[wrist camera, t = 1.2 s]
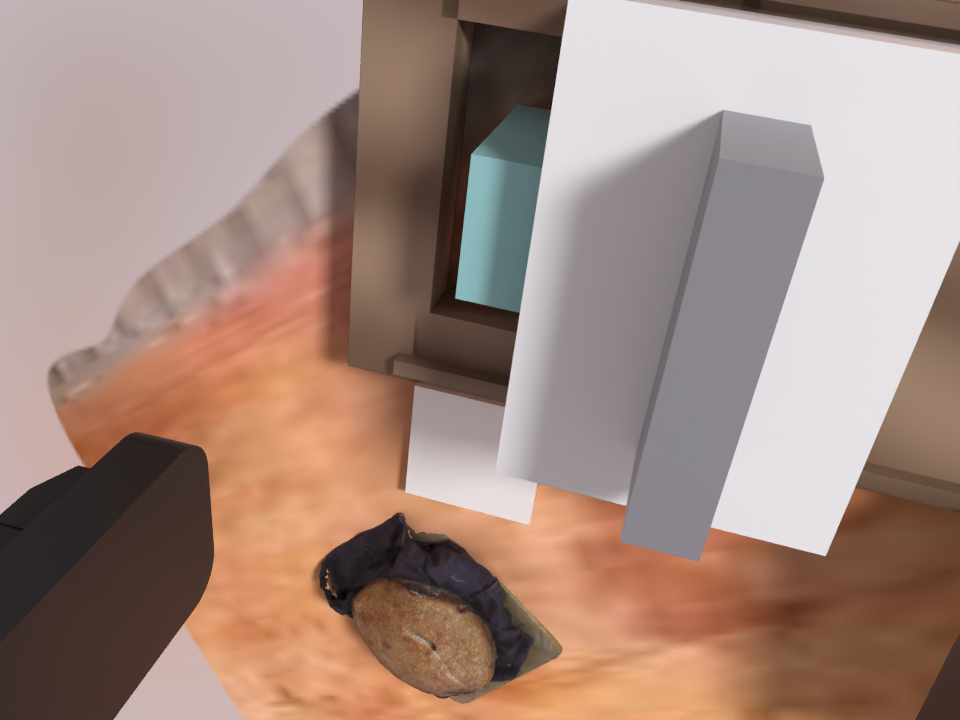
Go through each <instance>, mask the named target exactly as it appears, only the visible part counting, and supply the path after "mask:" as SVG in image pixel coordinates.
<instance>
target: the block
mask: <svg viewBox="0 0 960 720" xmlns="http://www.w3.org/2000/svg"><path fill="white" fill-rule="evenodd" d="M550 115H551V110H547V109H542V108H536V107H531V106H526V105H520V104H518V105H517V106H516V107H515V108H514V109H513V110H512V111H511V112H510V113H509V114H508V115H507V116H506V117H505V119H504V120H503V121H502V122H501V123H500V124H499V125H498V126H497V127H496V128H495V129H494V130H493V131H492V132H491V134H490V135H489V136H488V137H487V138H486V139H485V140H484V141H483V142H482V143H481V144H480V145H479V146H478V147H477V148H476V150H475V151H474V152H473V153H472V154H471V161H470V170H469V179H468V188H467V197H466V206H465V215H464V224H463V233H462V242H461V251H460V260H459V269H458V278H457V287H456V296H455V299H460V300H464V301H469V302H473V303H478V304H482V305H487V306H491V307H496V308H500V309H505V310H509V311H514V312H518V313H520V309H521V302H522V296H523V289H524V283H525V276H526V270H527V263H528V257H529V251H530V244H531V238H532V231H533V225H534V218H535V212H536V205H537V199H538V192H539V186H540V179H541V173H542V166H543V160H544V154H545V147H546V141H547V134H548V128H549V121H550Z"/></svg>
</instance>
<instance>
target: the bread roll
mask: <svg viewBox="0 0 960 720" xmlns="http://www.w3.org/2000/svg"><path fill="white" fill-rule="evenodd" d="M408 530H410V535H411V536H412V538H413V539H411V538H410V537H409V534H408V532H407V531H408ZM414 532H415V531H414V530H412V529H411V528H410V527H409V526H408V525H407V524H406V522H405V518H404V514H403V513H400V514H396V515H394V516H393V517H392V518H390V519H388V520H386V521H385V522H384V523H383V524H381V525H379V526H377V527H375V528H373V529H370V530H368V531H366V532H364V533H363V534H361V535H360V536H358V537H355V538H353V539H351V540H349V541H347V542H345V543H343V544H342V545H340V546H339V547H337V548H335V549H334V550H333V551H332V552H331V553H330V554H329V555H328V556H327V557H326V559H325V560H324V561H323V563H322V565H321V571H320V575H319V577H320V587H321V588H322V589H323V590H324V592H325V595H326V598H327V600H328V603H329V605H330V607H331V608H332V609H333V610H335V611H336V612H338V613H339V614H341V615H344V614H346V615H348V616H349V617H351V618H354V620H355V623H356V625H357V628H358V630H359V632H360V634H361V636H362V638H363V639H364V641H365V642H366V644H367V645H368V647H369V648H370V650H371V651H372V652H373V654H374V655H375V656H376V658H377V659H378V660H379V662H380V663H381V664H382V665H383V666H384V667H385V668H386V669H387V670H389V671H390V672H391V673H392V674H393V675H394V676H395V677H397V678H398V679H400V680H402V681H403V682H405V683H407V684H409V685H410V686H412V687H414V688H416V689H419V690H420V691H422V692H425V693H428V694H433V695H435V696H436V697H438V698H442V699H444V698H448V697H450V698H451V699H452V700H454V701H456V702H459V703H468V702H471V701H473V700H475V699H477V698H479V697H481V696H482V695H484V694H486V693H488V692H491V691H493V690H495V689H497V688H499V687H501V686H502V685H504V684H506V683H508V682H510V681H512V680H514V679H516V678H518V677H520V676H522V675H524V674H526V673H528V672H530V671H532V670H534V669H536V668H538V667H540V666H541V665H543V664H545V663H547V662H549V661H551V660H553V659H555V658H557V657H558V656H559V655H560V654H561V652H562V646H561V645H560V644H559V643H558V641H557V640H556V639H555V638H554V637H553V635H552V634H551V633H550V632H549V631H548V630H547V629H546V628H545V627H544V626H543V625H542V624H541V623H540V622H539V621H538V620H537V619H536V618H535V617H534V616H533V614H532V613H531V612H530V611H529V610H528V609H527V608H526V607H525V606H524V605H523V604H522V603H521V602H520V601H519V600H518V599H517V598H516V597H515V596H514V595H513V594H512V593H511V592H510V591H509V590H508V589H507V588H506V587H505V586H504V585H503V584H502V583H501V582H500V581H499V580H498V579H497V578H496V577H495V576H494V575H493V574H492V573H491V572H490V571H489V570H487V569H486V568H485V567H484V566H482V565H481V564H480V563H479V562H478V561H476V560H475V559H474V558H473V557H472V556H471V555H470V554H469V553H468V552H466V550H465V549H464V548H462V547H461V546H460V545H458V544H457V543H456V542H454V541H453V540H452V539H451V538H449V537H447V536H446V535H443V534H431V533H430V534H427V533H425V532H420V533H418V534H417V533H414ZM326 569H328V570H329V573H327V572H326ZM327 575H328V578H325V576H327ZM327 583H328V585H329V586H331V587H332V588H331V589H332V592H333V593H334V591H335V593H336V594H337V598H336V597H335V596H334V595H332V592H331V591H330V588H329V590H327V589H325V587H327ZM333 590H334V591H333Z"/></svg>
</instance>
